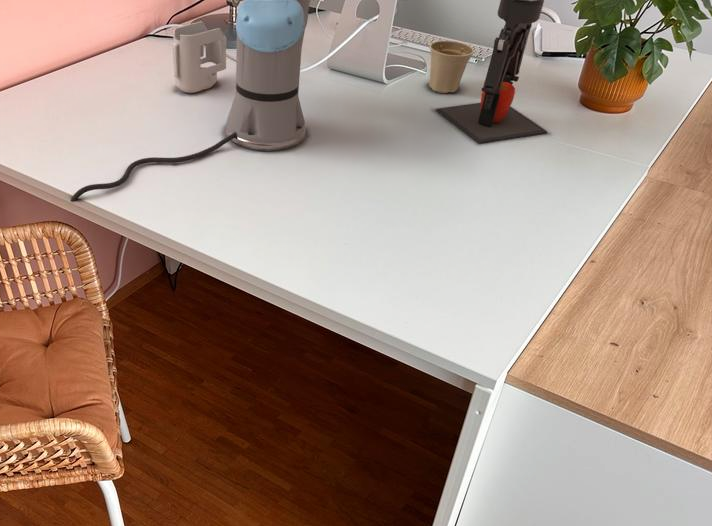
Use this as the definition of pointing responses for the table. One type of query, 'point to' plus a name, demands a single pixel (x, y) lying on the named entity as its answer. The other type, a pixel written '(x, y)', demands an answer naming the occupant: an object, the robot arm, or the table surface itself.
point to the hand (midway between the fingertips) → (491, 118)
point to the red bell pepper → (502, 101)
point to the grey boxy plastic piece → (197, 56)
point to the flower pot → (448, 64)
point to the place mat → (503, 130)
